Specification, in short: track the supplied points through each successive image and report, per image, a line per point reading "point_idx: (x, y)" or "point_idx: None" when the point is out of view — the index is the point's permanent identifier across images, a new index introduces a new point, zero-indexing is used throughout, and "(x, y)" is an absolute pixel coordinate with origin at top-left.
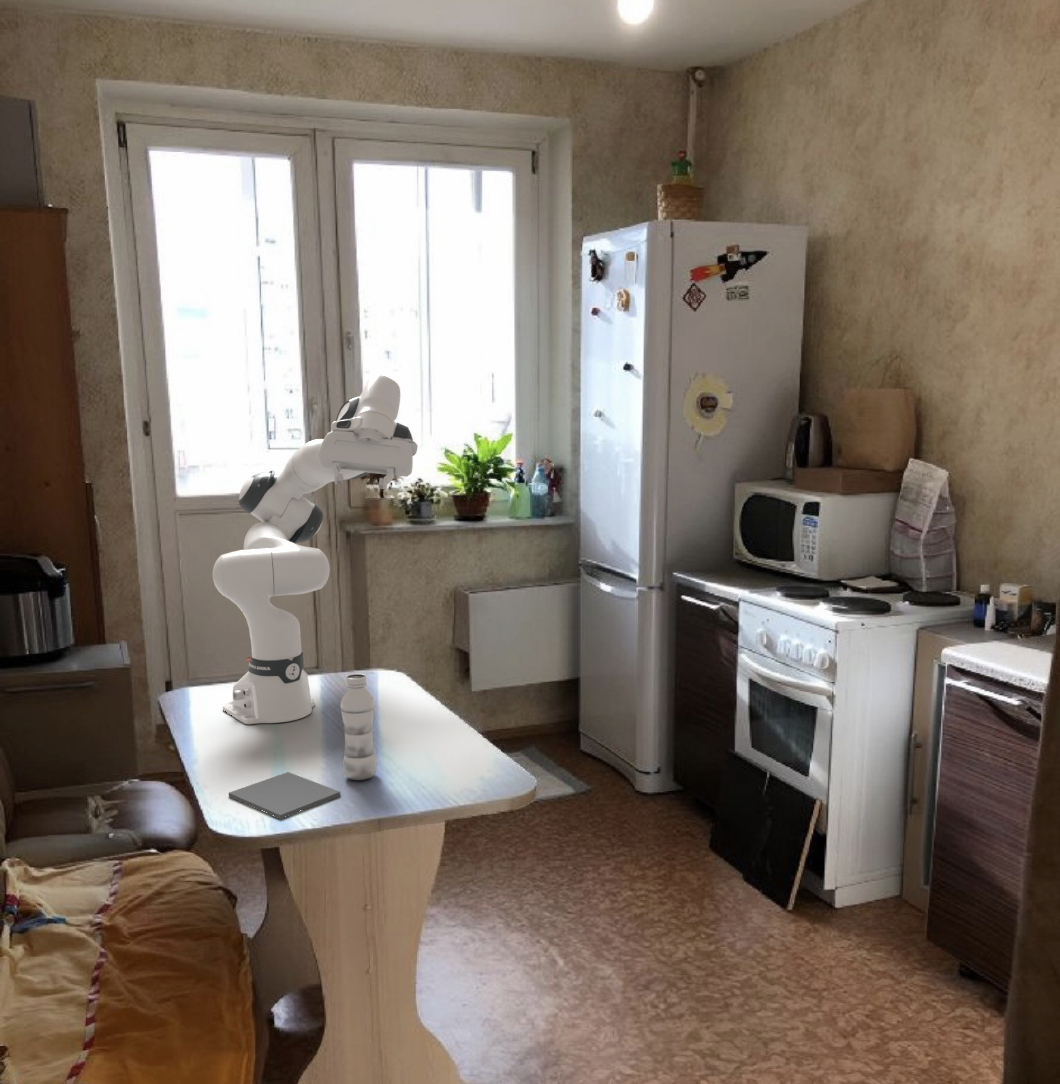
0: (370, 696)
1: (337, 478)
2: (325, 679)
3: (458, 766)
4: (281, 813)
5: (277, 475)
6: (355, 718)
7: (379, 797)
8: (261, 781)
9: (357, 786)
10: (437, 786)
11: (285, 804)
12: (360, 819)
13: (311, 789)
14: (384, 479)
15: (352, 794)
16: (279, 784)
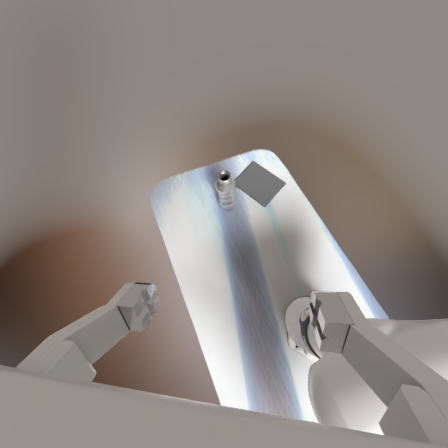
0: (216, 181)
1: (334, 293)
2: None
3: (180, 216)
4: (253, 162)
5: None
6: (225, 179)
7: None
8: (274, 195)
9: None
10: (190, 192)
11: (254, 170)
12: (220, 162)
13: (247, 185)
14: (117, 299)
15: None
16: (264, 191)
